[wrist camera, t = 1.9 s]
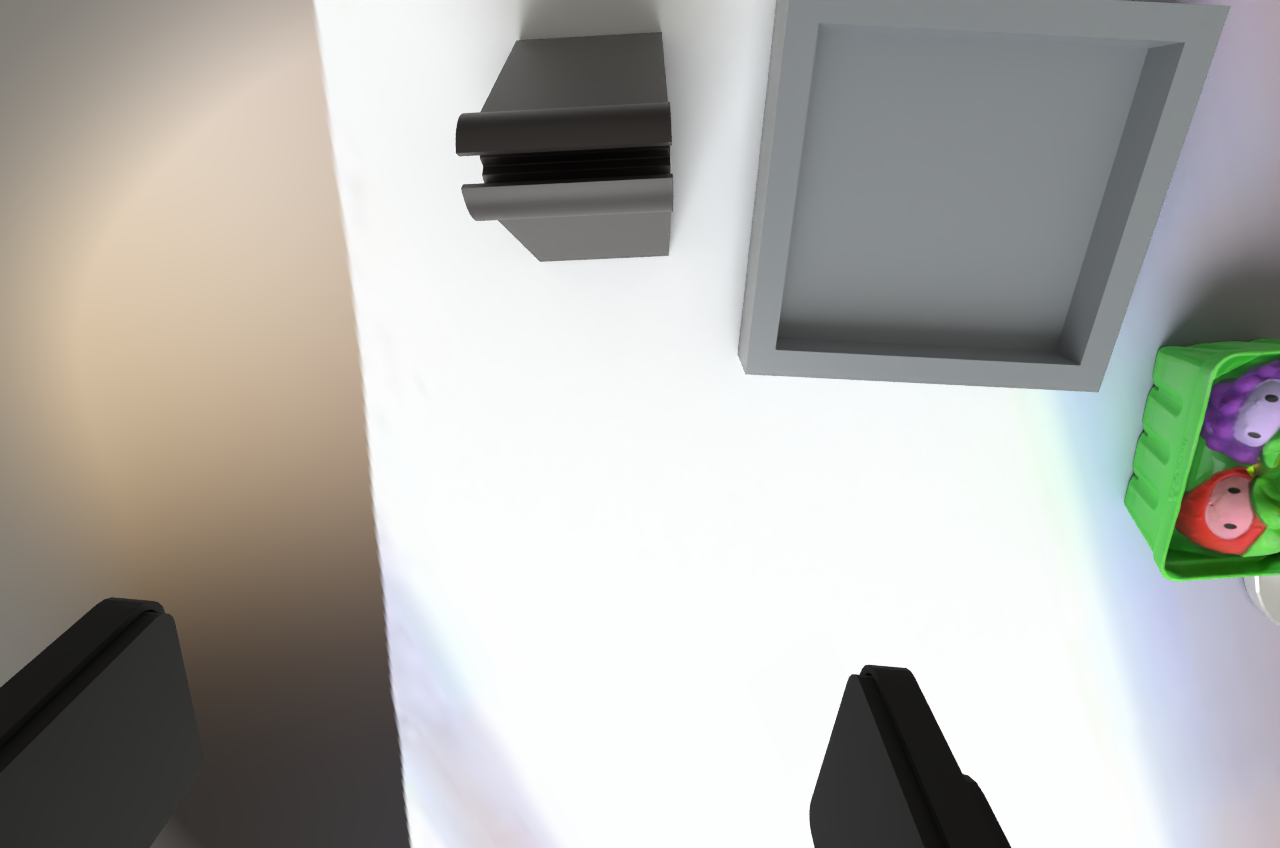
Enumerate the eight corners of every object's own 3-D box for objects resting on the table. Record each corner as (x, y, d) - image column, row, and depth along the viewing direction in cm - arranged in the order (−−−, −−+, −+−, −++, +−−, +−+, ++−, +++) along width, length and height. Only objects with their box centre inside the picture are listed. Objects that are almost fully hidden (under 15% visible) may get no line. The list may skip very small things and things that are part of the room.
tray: (1171, 19, 27) (1230, 5, 24) (1061, 370, 33) (1098, 392, 30) (776, -2, 27) (791, -18, 24) (737, 354, 33) (745, 374, 30)
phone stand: (518, 40, 28) (430, -21, 17) (662, 33, 28) (669, -34, 17) (540, 260, 31) (479, 327, 20) (668, 255, 31) (676, 320, 20)
